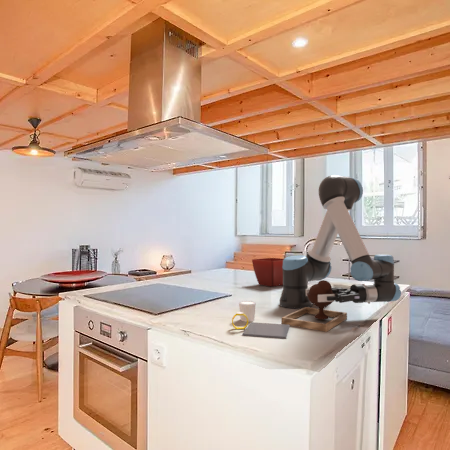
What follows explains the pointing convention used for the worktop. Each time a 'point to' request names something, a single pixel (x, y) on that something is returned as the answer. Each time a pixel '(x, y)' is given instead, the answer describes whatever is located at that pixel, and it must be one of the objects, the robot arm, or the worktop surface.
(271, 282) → the plant pot
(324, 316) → the ice cream bowl
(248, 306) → the white cup
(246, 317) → the watch
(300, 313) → the wooden picture frame
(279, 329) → the plate
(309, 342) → the worktop surface
